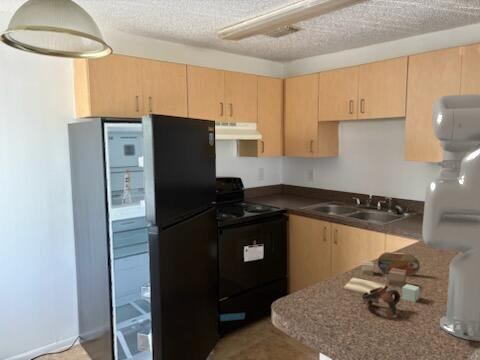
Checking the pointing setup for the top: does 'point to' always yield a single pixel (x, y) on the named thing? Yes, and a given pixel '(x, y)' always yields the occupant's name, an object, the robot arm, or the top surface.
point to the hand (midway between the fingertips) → (451, 212)
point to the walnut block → (397, 277)
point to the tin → (398, 262)
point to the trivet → (362, 286)
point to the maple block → (368, 268)
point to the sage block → (410, 293)
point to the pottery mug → (385, 297)
